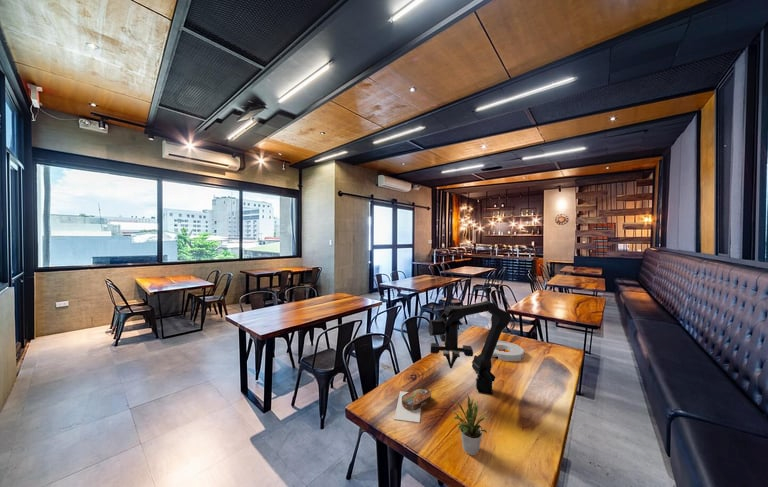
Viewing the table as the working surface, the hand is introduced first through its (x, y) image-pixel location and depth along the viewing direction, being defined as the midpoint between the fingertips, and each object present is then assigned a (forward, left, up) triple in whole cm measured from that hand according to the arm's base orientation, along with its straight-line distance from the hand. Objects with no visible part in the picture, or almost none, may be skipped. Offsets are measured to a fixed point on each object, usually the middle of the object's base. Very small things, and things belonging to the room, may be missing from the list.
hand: (450, 367), depth 128 cm
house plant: (-4, +32, -12) cm, 34 cm away
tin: (+12, +13, -11) cm, 20 cm away
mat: (+18, +13, -12) cm, 25 cm away
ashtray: (-35, -52, -13) cm, 64 cm away
